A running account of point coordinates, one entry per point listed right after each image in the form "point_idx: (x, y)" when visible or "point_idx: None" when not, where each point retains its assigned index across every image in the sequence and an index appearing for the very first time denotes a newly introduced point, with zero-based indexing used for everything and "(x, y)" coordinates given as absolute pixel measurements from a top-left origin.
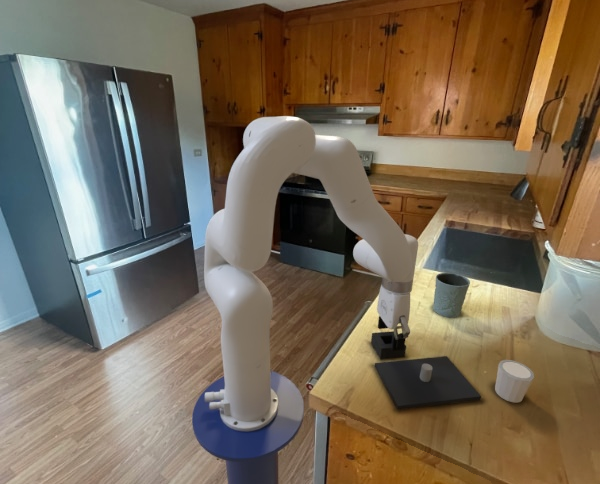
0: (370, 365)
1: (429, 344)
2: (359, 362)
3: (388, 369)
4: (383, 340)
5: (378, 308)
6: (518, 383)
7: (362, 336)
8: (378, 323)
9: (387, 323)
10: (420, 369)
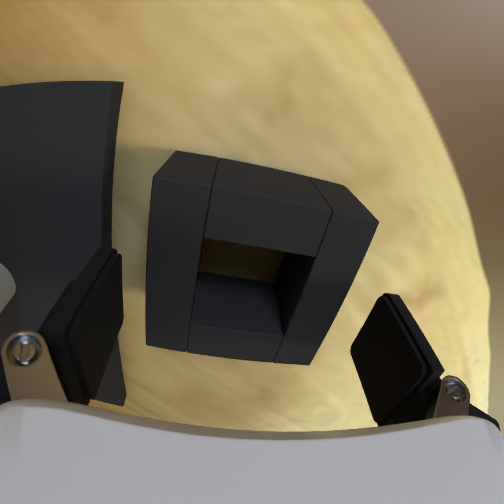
0: (143, 62)
1: (218, 401)
2: (196, 7)
3: (44, 144)
4: (296, 262)
5: (489, 473)
6: None
7: (418, 179)
8: (410, 320)
9: (74, 472)
10: (43, 298)
